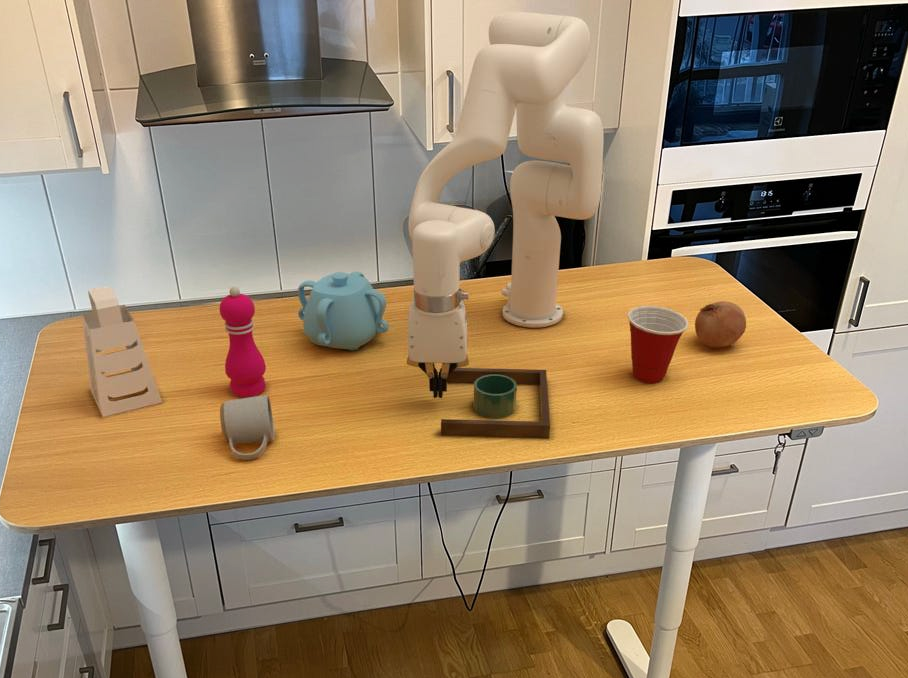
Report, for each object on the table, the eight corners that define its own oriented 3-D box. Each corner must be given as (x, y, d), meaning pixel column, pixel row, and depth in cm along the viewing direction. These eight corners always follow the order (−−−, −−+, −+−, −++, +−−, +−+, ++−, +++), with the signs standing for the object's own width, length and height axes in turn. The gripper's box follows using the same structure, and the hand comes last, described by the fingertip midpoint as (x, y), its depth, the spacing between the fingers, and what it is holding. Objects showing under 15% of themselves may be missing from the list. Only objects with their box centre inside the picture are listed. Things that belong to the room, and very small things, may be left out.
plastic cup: (680, 393, 167) (690, 332, 160) (619, 387, 169) (626, 327, 162) (679, 365, 175) (688, 306, 168) (621, 360, 177) (628, 302, 170)
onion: (698, 362, 183) (683, 323, 177) (707, 331, 188) (693, 292, 182) (747, 356, 177) (733, 315, 171) (755, 324, 182) (742, 284, 177)
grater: (102, 416, 162) (75, 311, 150) (91, 390, 170) (64, 288, 158) (162, 402, 166) (140, 298, 154) (148, 377, 174) (126, 276, 162)
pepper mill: (275, 382, 171) (262, 281, 160) (256, 401, 166) (242, 297, 154) (240, 377, 173) (225, 276, 162) (221, 395, 168) (204, 292, 156)
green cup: (464, 407, 163) (465, 384, 161) (493, 392, 168) (494, 370, 165) (495, 422, 159) (496, 399, 156) (524, 407, 163) (525, 384, 161)
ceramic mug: (226, 429, 158) (219, 390, 153) (274, 425, 159) (269, 386, 154) (224, 464, 150) (217, 424, 145) (275, 460, 150) (269, 420, 146)
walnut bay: (440, 435, 156) (440, 422, 155) (447, 379, 172) (447, 367, 170) (549, 438, 155) (550, 425, 153) (545, 381, 171) (546, 369, 169)
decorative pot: (394, 350, 182) (392, 285, 174) (313, 362, 178) (308, 296, 170) (372, 316, 194) (370, 254, 187) (297, 327, 190) (291, 264, 183)
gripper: (482, 288, 155) (481, 384, 166) (393, 288, 156) (398, 383, 166) (481, 308, 149) (480, 406, 159) (389, 307, 150) (394, 404, 160)
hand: (438, 394), depth 163 cm, fingers closed
